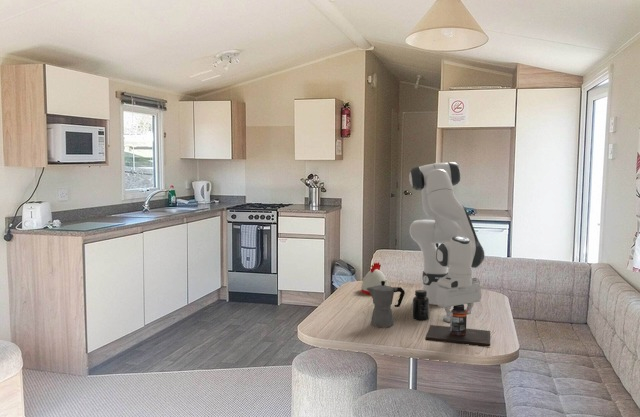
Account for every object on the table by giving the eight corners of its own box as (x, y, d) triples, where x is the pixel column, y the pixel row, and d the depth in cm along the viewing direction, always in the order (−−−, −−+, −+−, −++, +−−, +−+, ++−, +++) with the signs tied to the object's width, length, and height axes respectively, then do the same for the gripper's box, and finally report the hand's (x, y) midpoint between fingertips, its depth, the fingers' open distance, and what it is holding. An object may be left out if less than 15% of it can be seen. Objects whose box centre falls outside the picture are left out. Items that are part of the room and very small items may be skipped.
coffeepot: (365, 326, 216) (366, 282, 214) (366, 320, 225) (367, 277, 224) (404, 328, 214) (405, 284, 212) (403, 321, 223) (404, 279, 222)
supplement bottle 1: (429, 317, 230) (430, 290, 229) (427, 321, 223) (428, 293, 222) (413, 315, 232) (414, 288, 231) (411, 320, 226) (411, 292, 224)
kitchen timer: (393, 291, 275) (394, 262, 274) (378, 296, 265) (378, 266, 263) (371, 287, 284) (372, 259, 283) (355, 292, 274) (356, 263, 273)
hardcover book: (430, 330, 216) (430, 324, 216) (490, 336, 209) (490, 330, 209) (425, 343, 201) (425, 337, 200) (489, 350, 194) (489, 344, 193)
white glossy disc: (453, 316, 232) (453, 313, 232) (467, 321, 225) (467, 318, 225) (439, 318, 228) (439, 316, 228) (452, 323, 221) (452, 321, 221)
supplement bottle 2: (456, 330, 209) (457, 301, 208) (469, 334, 204) (470, 305, 203) (446, 333, 205) (447, 304, 204) (459, 337, 200) (460, 307, 199)
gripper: (473, 275, 211) (472, 310, 212) (433, 281, 200) (432, 317, 202) (485, 278, 205) (484, 314, 206) (445, 284, 195) (444, 321, 196)
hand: (458, 315), depth 204 cm, fingers open, 8 cm apart
